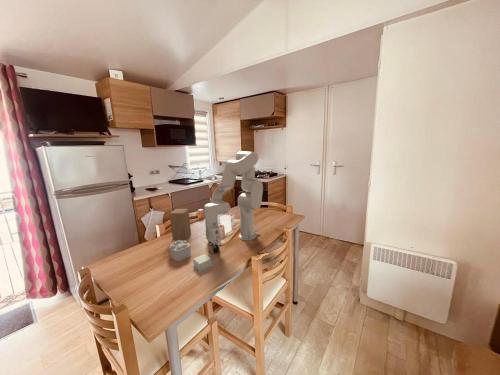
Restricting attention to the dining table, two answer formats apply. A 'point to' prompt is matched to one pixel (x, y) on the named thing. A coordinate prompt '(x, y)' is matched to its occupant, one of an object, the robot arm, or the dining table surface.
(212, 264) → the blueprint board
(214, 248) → the robot arm
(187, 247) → the lumpy-topped squat cylinder
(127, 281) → the dining table surface
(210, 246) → the walnut cube
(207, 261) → the base block
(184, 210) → the wooden block
